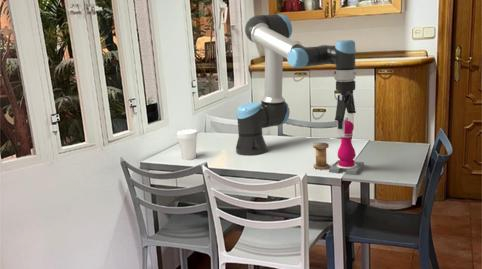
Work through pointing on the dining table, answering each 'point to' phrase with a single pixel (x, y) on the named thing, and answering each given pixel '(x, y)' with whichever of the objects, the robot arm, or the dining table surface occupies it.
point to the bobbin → (321, 156)
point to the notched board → (347, 168)
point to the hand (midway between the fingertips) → (345, 132)
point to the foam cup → (187, 143)
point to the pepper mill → (347, 146)
